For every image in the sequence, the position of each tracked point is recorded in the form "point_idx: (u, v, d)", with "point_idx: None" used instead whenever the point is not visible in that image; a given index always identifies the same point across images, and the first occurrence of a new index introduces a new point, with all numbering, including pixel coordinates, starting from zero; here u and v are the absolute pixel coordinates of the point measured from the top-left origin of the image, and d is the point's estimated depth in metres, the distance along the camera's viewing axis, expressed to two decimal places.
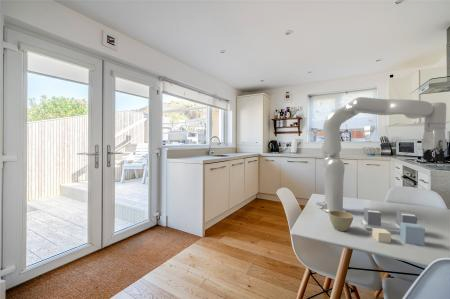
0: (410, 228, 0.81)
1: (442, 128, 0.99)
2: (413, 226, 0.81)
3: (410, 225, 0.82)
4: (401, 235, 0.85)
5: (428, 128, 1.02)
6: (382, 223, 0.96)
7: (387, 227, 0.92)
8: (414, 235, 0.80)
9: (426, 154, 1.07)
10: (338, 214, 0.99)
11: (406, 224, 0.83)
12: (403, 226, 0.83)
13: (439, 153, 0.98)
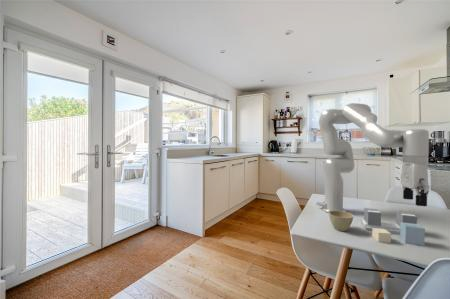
0: (410, 228, 0.81)
1: (424, 162, 0.77)
2: (413, 226, 0.81)
3: (410, 225, 0.82)
4: (401, 235, 0.85)
5: (407, 161, 0.80)
6: (382, 223, 0.96)
7: (387, 227, 0.92)
8: (414, 235, 0.80)
9: (406, 192, 0.86)
10: (338, 214, 0.99)
11: (406, 224, 0.83)
12: (403, 226, 0.83)
13: (420, 195, 0.76)
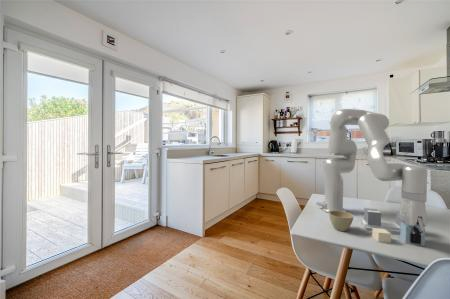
0: (410, 228, 0.81)
1: (422, 200, 0.78)
2: None
3: None
4: (401, 235, 0.85)
5: (405, 197, 0.81)
6: (382, 223, 0.96)
7: (387, 227, 0.92)
8: None
9: None
10: (338, 214, 0.99)
11: (406, 224, 0.83)
12: (403, 226, 0.83)
13: (414, 234, 0.79)
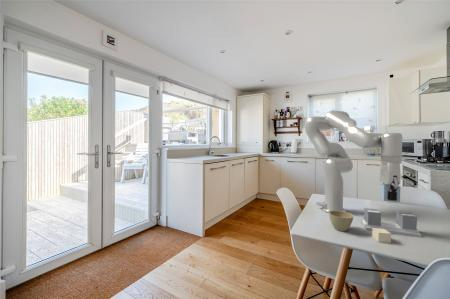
0: (388, 187, 0.92)
1: (397, 162, 0.89)
2: None
3: (388, 185, 0.93)
4: (380, 195, 0.96)
5: (383, 160, 0.92)
6: (382, 223, 0.96)
7: (387, 227, 0.92)
8: None
9: None
10: (338, 214, 0.99)
11: (385, 184, 0.94)
12: (382, 186, 0.94)
13: (391, 191, 0.90)
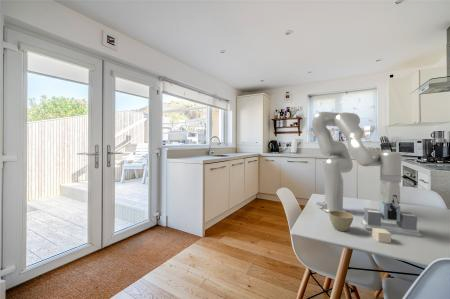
0: (388, 206, 0.92)
1: (397, 181, 0.89)
2: None
3: None
4: None
5: (383, 179, 0.93)
6: (382, 223, 0.96)
7: (387, 227, 0.92)
8: None
9: None
10: (338, 214, 0.99)
11: (385, 203, 0.94)
12: (382, 205, 0.94)
13: (391, 211, 0.91)
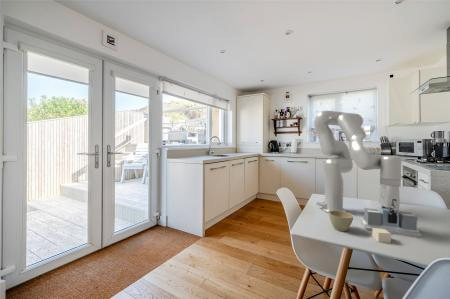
0: (386, 212, 0.92)
1: (396, 185, 0.90)
2: None
3: (387, 210, 0.94)
4: None
5: (383, 183, 0.93)
6: None
7: (387, 227, 0.92)
8: None
9: None
10: (338, 214, 0.99)
11: (384, 209, 0.95)
12: (381, 211, 0.95)
13: (391, 214, 0.90)
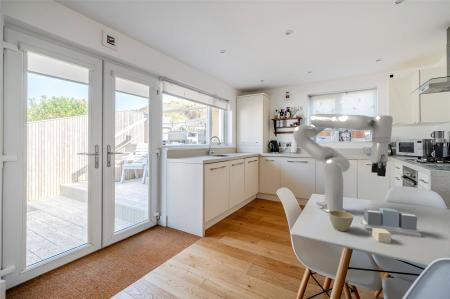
0: (386, 212, 0.92)
1: (386, 142, 0.97)
2: (390, 210, 0.93)
3: (387, 210, 0.94)
4: None
5: (374, 141, 1.00)
6: None
7: (387, 227, 0.92)
8: (390, 218, 0.92)
9: (374, 167, 1.06)
10: (338, 214, 0.99)
11: (384, 209, 0.95)
12: (381, 211, 0.95)
13: (380, 167, 0.96)
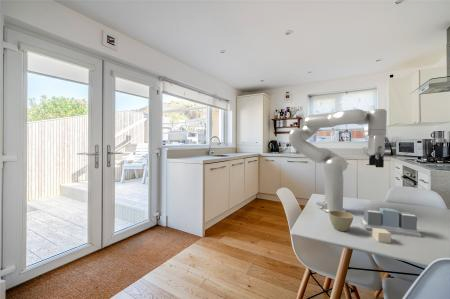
0: (386, 212, 0.92)
1: (382, 134, 1.01)
2: (390, 210, 0.93)
3: (387, 210, 0.94)
4: None
5: (370, 134, 1.04)
6: None
7: (387, 227, 0.92)
8: (390, 218, 0.92)
9: (371, 159, 1.09)
10: (338, 214, 0.99)
11: (384, 209, 0.95)
12: (381, 211, 0.95)
13: (378, 159, 0.99)
